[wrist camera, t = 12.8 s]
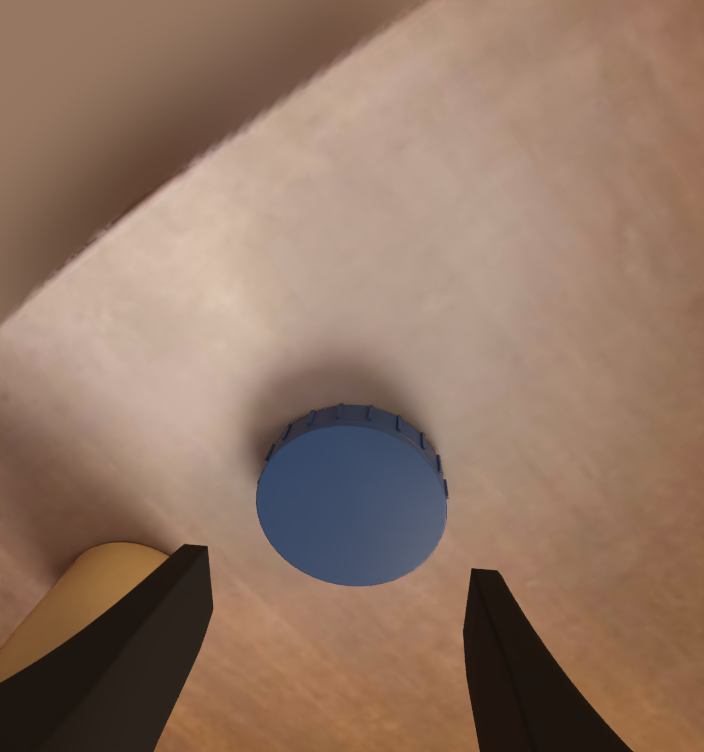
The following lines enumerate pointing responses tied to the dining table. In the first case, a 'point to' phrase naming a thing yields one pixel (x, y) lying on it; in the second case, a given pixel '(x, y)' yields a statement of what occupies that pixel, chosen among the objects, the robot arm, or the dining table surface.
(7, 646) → the jar
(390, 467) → the lid
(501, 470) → the dining table surface
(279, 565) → the dining table surface
